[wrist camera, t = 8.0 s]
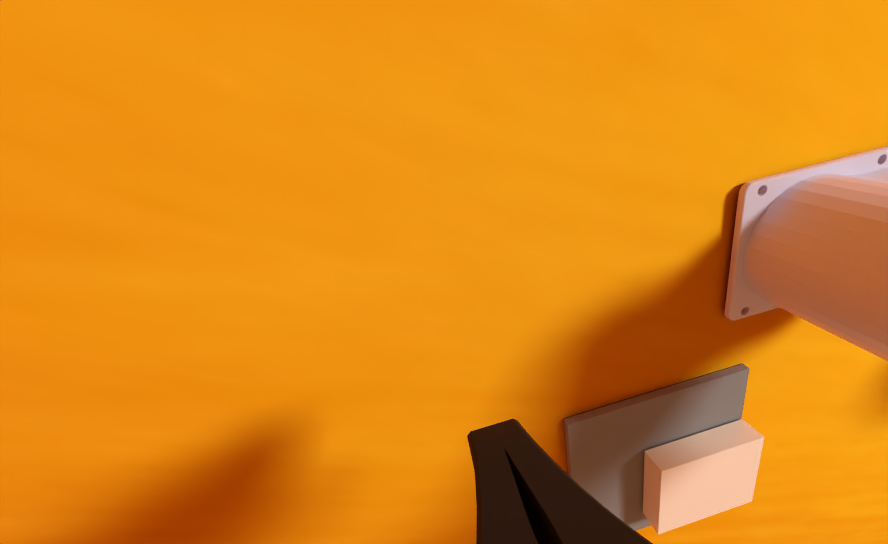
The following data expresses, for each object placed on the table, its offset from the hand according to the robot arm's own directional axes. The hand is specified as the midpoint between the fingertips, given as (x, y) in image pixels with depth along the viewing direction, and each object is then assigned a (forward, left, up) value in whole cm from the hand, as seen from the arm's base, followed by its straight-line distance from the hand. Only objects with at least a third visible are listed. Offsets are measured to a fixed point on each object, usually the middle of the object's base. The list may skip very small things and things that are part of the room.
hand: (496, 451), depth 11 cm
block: (-11, +17, -8) cm, 22 cm away
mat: (-12, +16, -9) cm, 22 cm away
